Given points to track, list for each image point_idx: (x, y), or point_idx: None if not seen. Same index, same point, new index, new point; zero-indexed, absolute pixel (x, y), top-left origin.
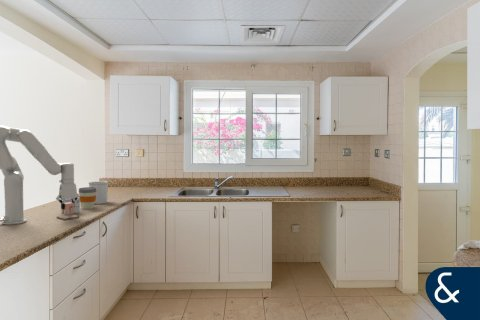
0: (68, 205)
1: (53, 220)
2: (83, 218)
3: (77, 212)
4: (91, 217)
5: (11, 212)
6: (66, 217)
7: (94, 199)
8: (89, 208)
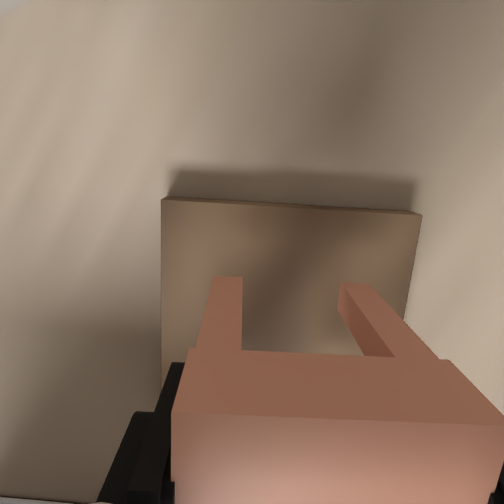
0: (387, 381)
1: (489, 321)
2: (151, 82)
3: (19, 500)
4: (14, 36)
5: None
6: (343, 272)
7: None
8: None
